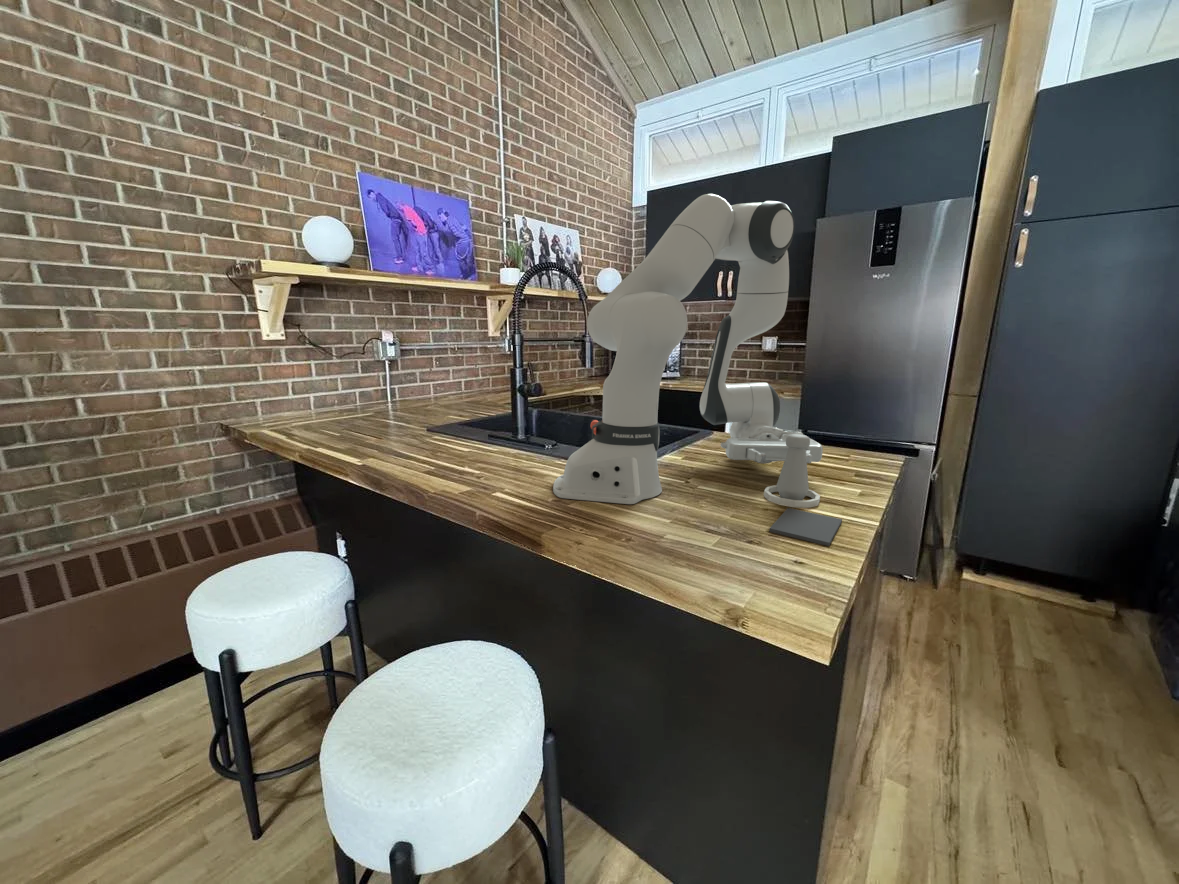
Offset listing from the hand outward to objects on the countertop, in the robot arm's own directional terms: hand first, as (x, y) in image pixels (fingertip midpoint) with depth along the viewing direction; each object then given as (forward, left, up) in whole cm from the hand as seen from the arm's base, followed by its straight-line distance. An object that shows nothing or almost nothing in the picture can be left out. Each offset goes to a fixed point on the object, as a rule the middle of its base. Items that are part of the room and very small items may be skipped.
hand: (785, 458), depth 97 cm
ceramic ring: (0, -5, -7) cm, 8 cm away
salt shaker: (0, -5, -7) cm, 9 cm away
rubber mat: (-3, -19, -7) cm, 21 cm away
